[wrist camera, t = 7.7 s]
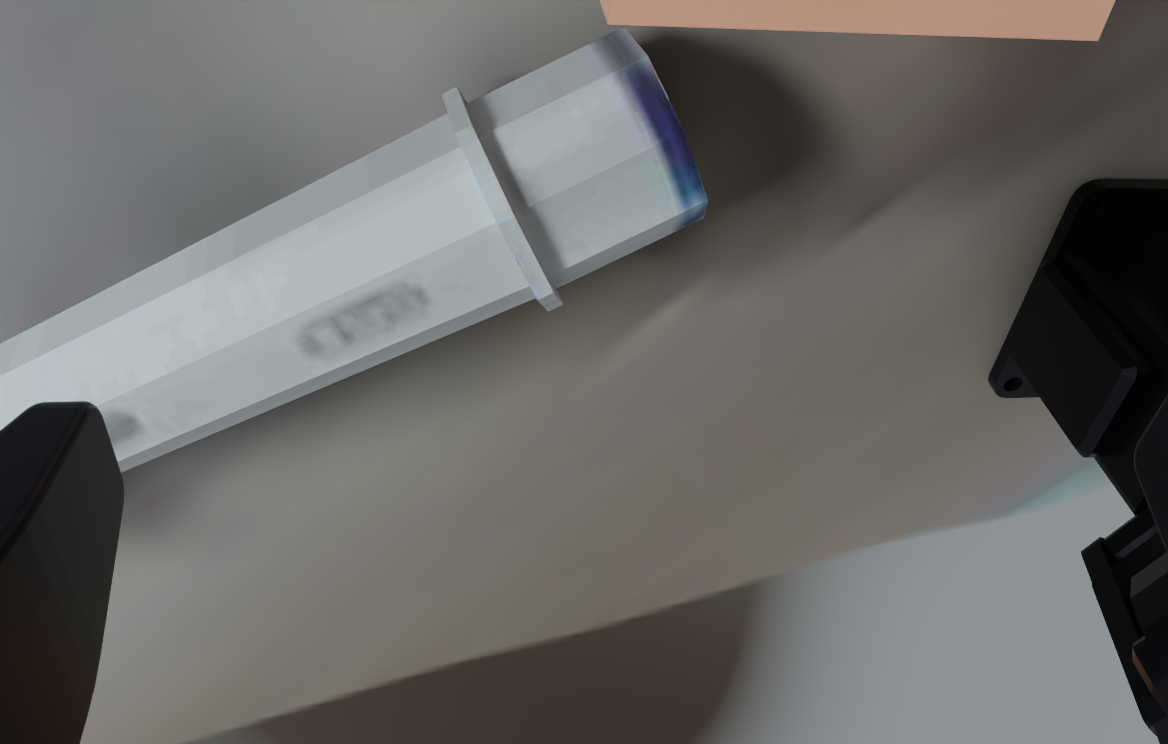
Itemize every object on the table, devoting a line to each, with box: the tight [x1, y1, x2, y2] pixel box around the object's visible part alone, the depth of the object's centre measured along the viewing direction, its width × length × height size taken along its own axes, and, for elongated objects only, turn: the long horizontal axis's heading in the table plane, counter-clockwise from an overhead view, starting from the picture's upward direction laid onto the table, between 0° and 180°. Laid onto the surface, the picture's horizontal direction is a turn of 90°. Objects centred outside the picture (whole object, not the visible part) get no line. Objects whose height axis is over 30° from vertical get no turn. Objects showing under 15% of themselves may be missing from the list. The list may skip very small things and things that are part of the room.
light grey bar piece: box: [0, 27, 708, 472], centre depth 21 cm, size 5×7×25 cm
